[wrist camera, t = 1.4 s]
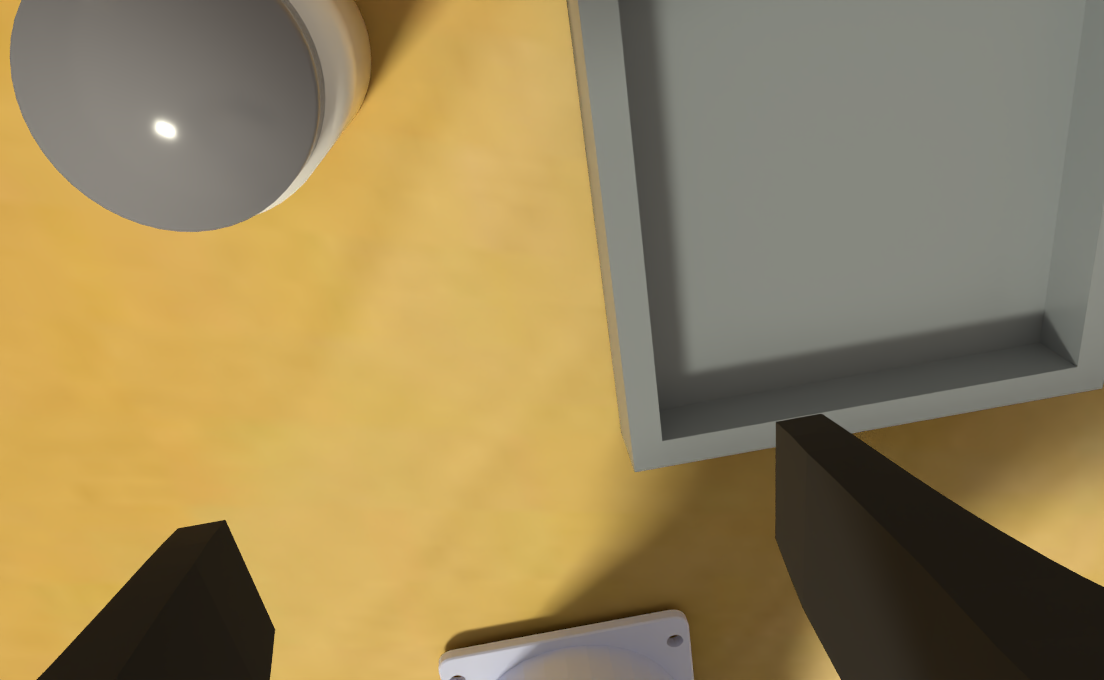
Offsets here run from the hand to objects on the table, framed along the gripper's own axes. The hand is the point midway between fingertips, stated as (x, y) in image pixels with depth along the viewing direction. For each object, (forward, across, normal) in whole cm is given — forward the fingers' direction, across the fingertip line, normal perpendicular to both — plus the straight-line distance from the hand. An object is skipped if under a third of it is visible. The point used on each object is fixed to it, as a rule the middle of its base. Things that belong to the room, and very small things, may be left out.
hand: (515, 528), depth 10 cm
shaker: (+11, +4, -5) cm, 13 cm away
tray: (+11, -9, 0) cm, 14 cm away
